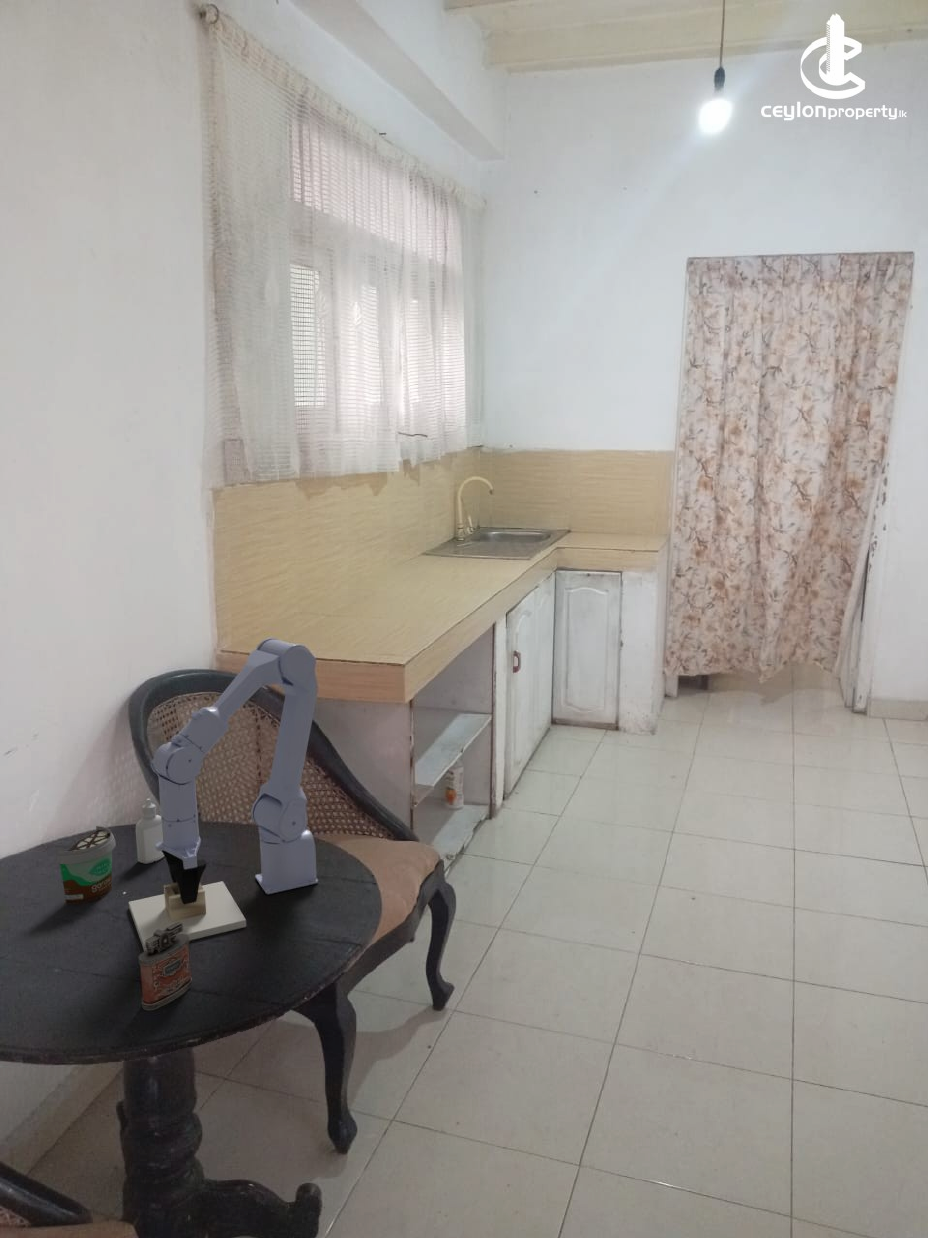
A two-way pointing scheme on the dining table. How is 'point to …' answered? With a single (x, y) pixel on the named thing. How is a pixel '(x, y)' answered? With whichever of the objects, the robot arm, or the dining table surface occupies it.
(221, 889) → the post board
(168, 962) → the lighter
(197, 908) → the maple sleeve
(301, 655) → the robot arm
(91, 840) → the food container
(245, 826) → the dining table surface
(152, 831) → the eye dropper bottle
